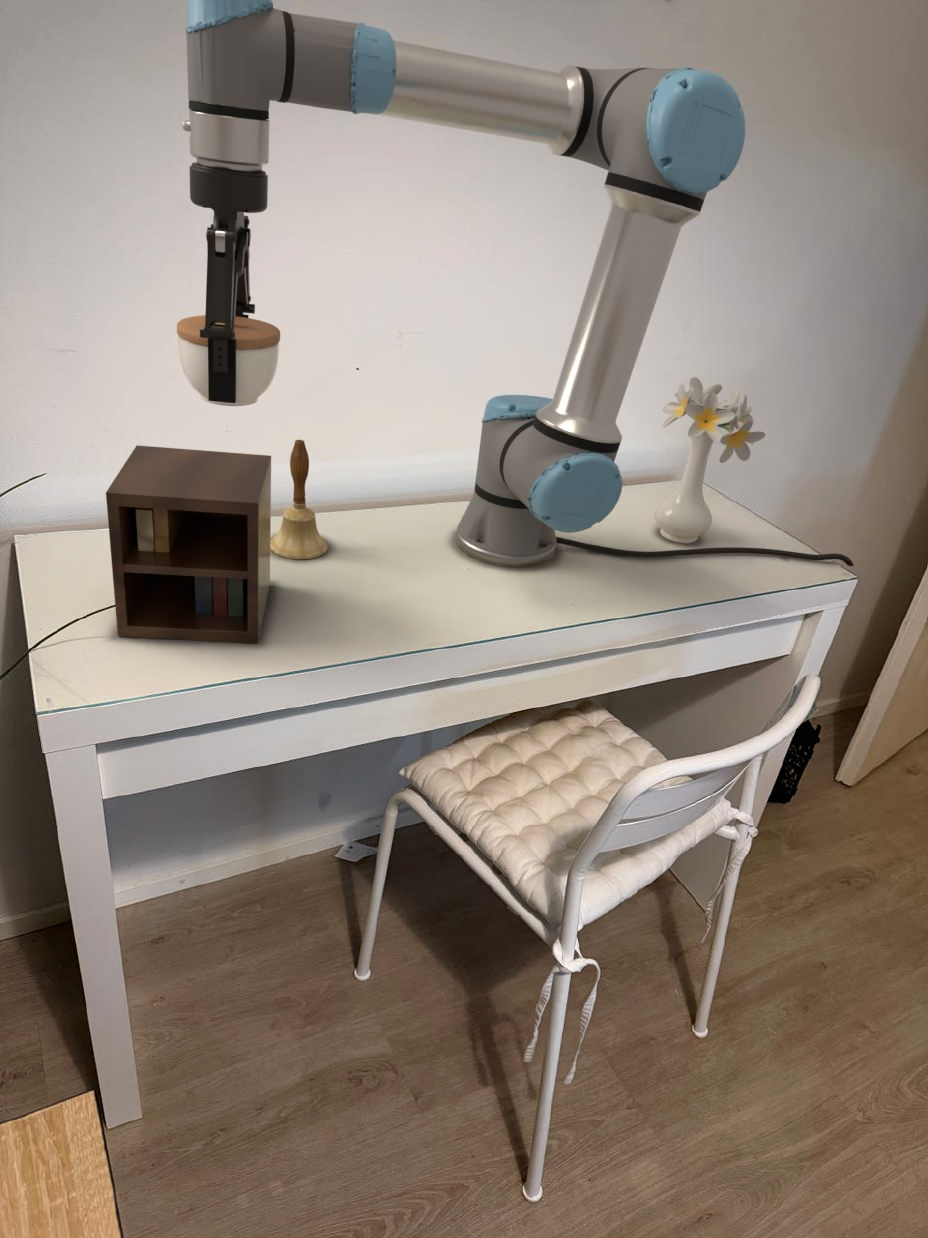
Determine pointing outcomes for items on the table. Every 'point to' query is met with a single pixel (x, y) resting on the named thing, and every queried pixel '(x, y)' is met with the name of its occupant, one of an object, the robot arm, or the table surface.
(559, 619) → the table surface
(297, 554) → the hand bell
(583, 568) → the table surface
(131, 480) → the bookshelf
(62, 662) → the table surface
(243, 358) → the trinket box
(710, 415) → the flower vase
